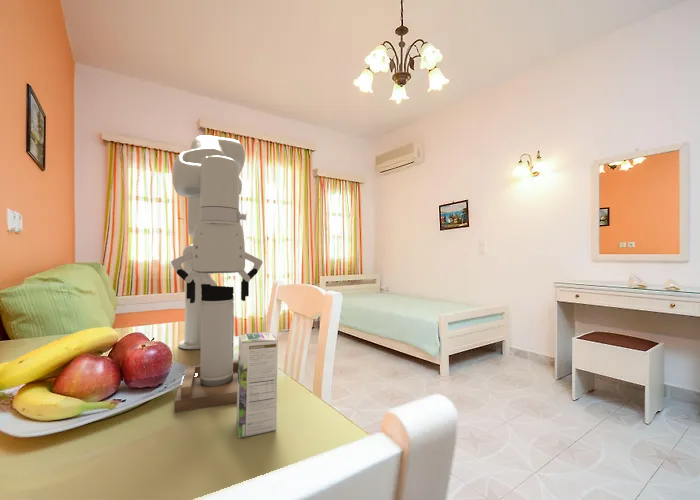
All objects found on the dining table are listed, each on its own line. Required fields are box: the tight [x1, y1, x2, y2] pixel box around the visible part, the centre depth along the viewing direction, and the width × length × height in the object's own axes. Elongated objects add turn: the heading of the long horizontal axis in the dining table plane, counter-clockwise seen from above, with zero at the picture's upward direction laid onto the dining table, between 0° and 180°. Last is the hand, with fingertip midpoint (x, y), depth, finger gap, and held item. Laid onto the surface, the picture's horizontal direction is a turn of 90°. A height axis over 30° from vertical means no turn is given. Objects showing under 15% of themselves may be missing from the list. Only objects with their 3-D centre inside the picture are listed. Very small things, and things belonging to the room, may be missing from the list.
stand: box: [173, 360, 238, 413], centre depth 66 cm, size 14×14×4 cm
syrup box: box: [236, 332, 279, 438], centre depth 53 cm, size 6×6×14 cm
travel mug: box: [199, 284, 235, 386], centre depth 67 cm, size 6×7×20 cm
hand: (218, 301), depth 67 cm, fingers open, 9 cm apart
